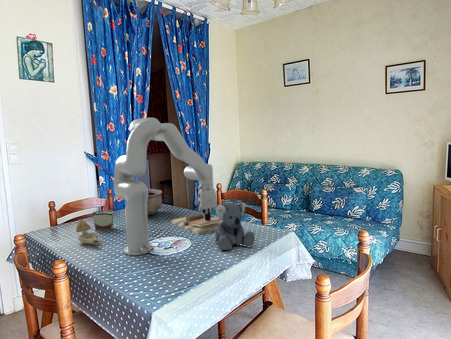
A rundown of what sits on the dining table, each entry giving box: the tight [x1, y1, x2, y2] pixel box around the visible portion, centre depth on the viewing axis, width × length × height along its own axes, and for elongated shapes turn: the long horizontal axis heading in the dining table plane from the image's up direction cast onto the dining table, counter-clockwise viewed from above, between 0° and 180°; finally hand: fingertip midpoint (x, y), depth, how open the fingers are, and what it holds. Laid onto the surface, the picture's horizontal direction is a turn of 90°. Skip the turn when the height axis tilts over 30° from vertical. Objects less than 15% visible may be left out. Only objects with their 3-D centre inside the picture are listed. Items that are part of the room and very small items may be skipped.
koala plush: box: [214, 202, 256, 251], centre depth 144 cm, size 17×18×20 cm
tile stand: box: [169, 213, 223, 235], centre depth 177 cm, size 30×20×4 cm, turn 39°
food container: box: [91, 209, 115, 231], centre depth 174 cm, size 12×6×10 cm, turn 84°
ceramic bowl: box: [147, 188, 163, 216], centre depth 201 cm, size 22×22×15 cm
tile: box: [188, 216, 223, 227], centre depth 173 cm, size 13×14×2 cm
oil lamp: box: [75, 218, 101, 246], centre depth 152 cm, size 9×21×10 cm, turn 42°
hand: (207, 220), depth 171 cm, fingers closed
